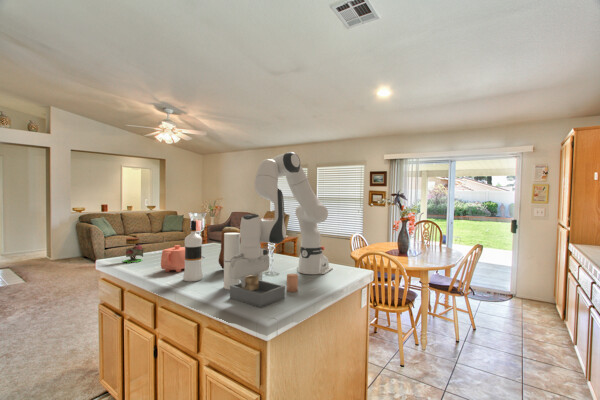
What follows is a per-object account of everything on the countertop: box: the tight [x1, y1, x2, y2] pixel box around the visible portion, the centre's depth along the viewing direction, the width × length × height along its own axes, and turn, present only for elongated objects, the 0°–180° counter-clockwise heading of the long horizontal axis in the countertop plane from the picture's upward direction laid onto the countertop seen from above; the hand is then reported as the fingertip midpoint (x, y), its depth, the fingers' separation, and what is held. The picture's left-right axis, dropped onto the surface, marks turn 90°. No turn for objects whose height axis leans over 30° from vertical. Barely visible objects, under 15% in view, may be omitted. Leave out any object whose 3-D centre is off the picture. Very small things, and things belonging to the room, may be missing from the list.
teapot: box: [160, 244, 185, 273], centre depth 167 cm, size 22×13×14 cm, turn 168°
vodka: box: [182, 220, 204, 283], centre depth 147 cm, size 9×9×30 cm
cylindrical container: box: [223, 233, 240, 290], centre depth 135 cm, size 7×7×25 cm
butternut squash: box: [218, 226, 241, 270], centre depth 166 cm, size 14×13×25 cm
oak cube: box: [242, 275, 259, 291], centre depth 123 cm, size 5×5×5 cm
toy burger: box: [122, 237, 146, 264], centre depth 187 cm, size 12×13×15 cm
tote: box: [229, 279, 286, 309], centre depth 120 cm, size 14×18×5 cm
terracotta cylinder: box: [286, 273, 299, 293], centre depth 131 cm, size 5×5×7 cm
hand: (250, 284), depth 123 cm, fingers closed on oak cube, 5 cm apart
